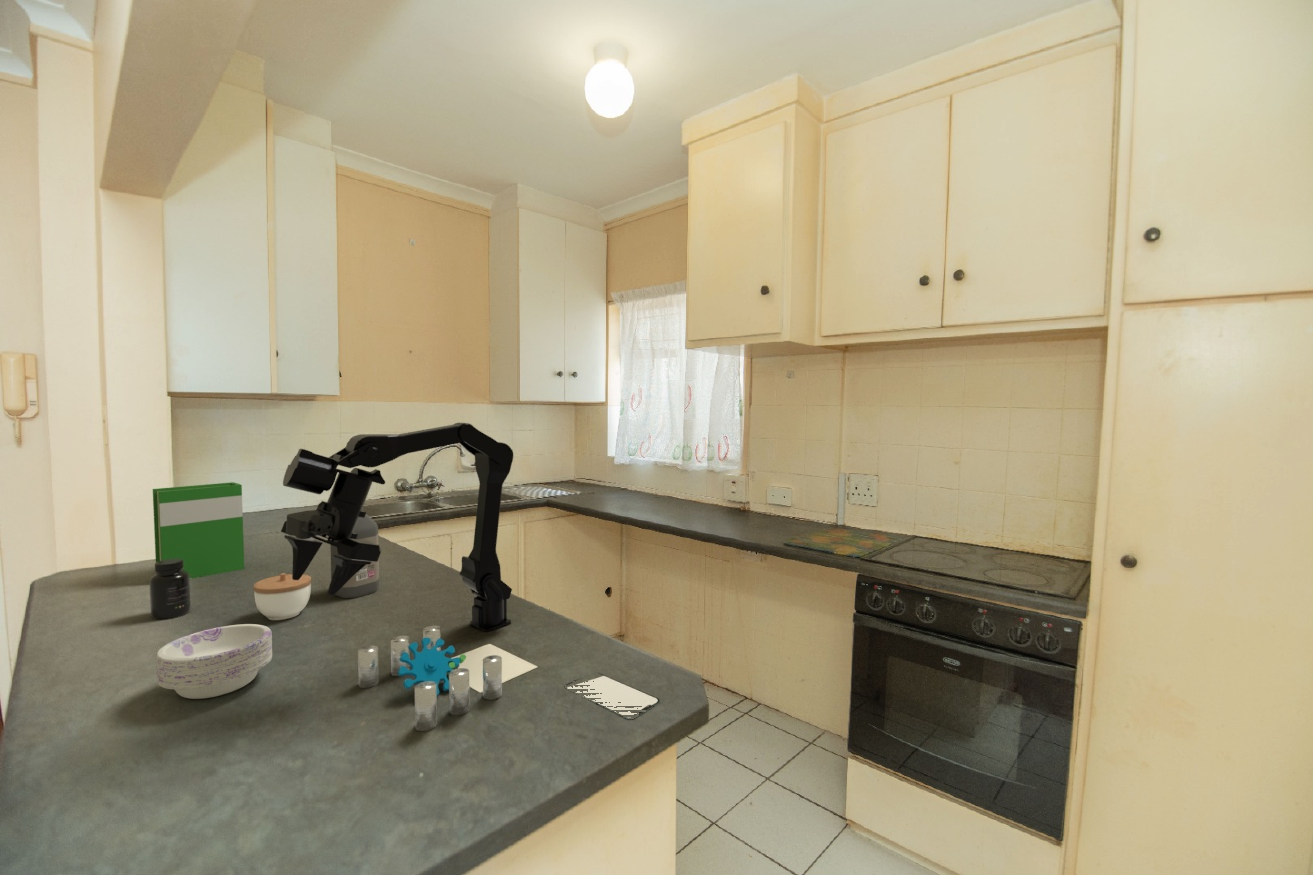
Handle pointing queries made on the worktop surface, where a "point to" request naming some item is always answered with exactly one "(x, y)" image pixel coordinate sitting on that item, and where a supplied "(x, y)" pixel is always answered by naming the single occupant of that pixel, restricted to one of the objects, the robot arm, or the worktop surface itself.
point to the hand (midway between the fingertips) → (312, 587)
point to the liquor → (369, 574)
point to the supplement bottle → (170, 590)
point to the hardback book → (200, 527)
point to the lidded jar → (282, 596)
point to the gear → (429, 664)
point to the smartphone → (617, 695)
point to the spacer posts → (428, 689)
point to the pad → (510, 665)
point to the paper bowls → (214, 660)
